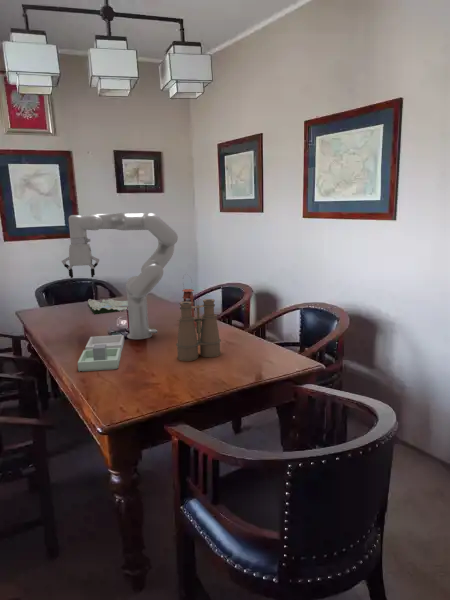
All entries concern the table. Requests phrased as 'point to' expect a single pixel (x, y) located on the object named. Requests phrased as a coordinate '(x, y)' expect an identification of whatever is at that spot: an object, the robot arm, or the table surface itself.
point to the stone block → (100, 352)
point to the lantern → (189, 295)
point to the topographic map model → (106, 306)
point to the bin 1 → (106, 341)
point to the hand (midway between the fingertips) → (82, 277)
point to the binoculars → (208, 330)
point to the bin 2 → (89, 364)
